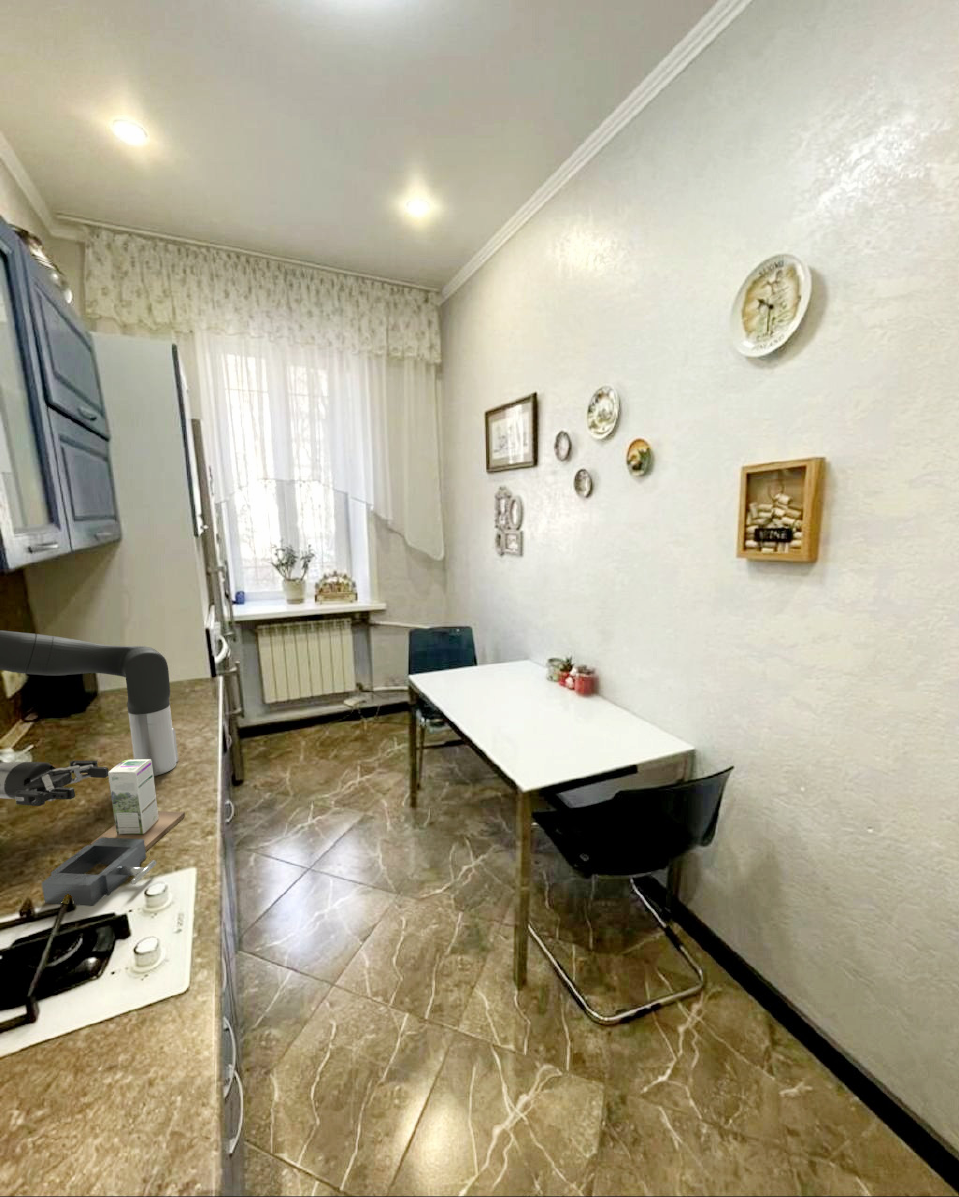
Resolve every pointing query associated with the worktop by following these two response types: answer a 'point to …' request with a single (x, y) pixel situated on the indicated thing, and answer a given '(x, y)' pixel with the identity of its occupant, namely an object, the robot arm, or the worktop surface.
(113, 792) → the syrup box
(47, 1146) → the worktop surface
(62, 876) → the vise
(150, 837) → the walnut board
